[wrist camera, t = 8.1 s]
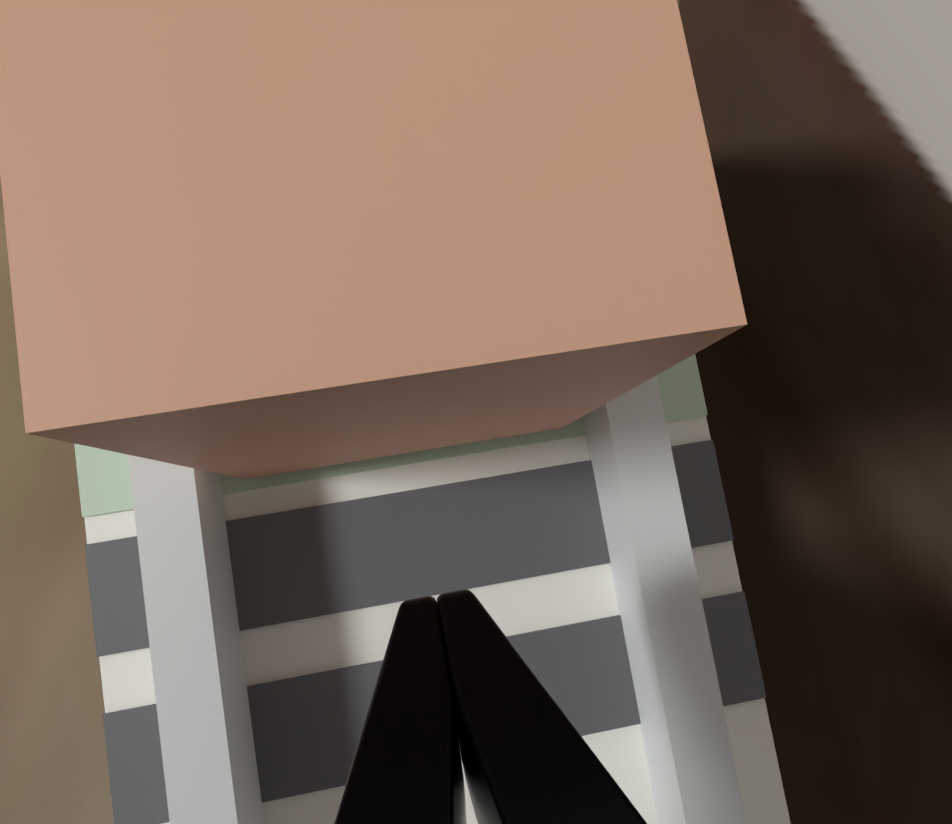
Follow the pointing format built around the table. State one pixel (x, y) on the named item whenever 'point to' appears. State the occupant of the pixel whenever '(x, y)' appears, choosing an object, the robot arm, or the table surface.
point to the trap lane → (430, 574)
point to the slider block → (350, 221)
